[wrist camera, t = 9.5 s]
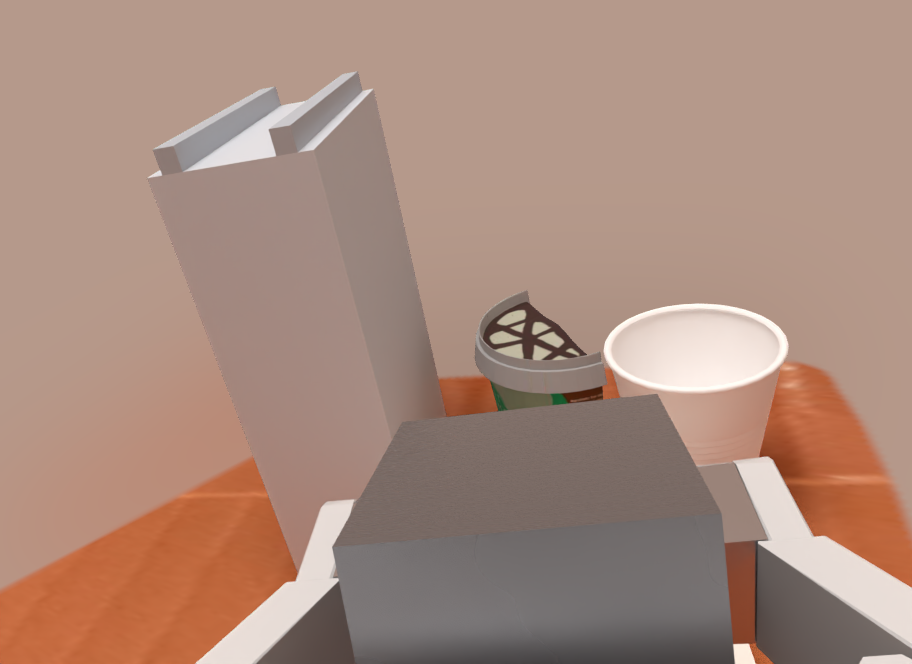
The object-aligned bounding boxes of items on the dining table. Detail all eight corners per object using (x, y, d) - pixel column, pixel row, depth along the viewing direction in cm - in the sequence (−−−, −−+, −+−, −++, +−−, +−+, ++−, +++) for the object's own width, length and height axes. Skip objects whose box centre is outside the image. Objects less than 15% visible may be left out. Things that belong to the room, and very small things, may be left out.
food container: (470, 423, 57) (446, 311, 52) (540, 398, 58) (524, 287, 54) (532, 517, 46) (510, 387, 42) (617, 485, 48) (604, 355, 43)
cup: (585, 496, 47) (567, 351, 42) (684, 427, 52) (678, 289, 47) (714, 578, 40) (710, 413, 35) (817, 488, 44) (827, 331, 39)
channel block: (302, 584, 45) (137, 152, 32) (351, 432, 59) (250, 91, 46) (428, 574, 44) (306, 122, 31) (447, 422, 58) (369, 69, 45)
